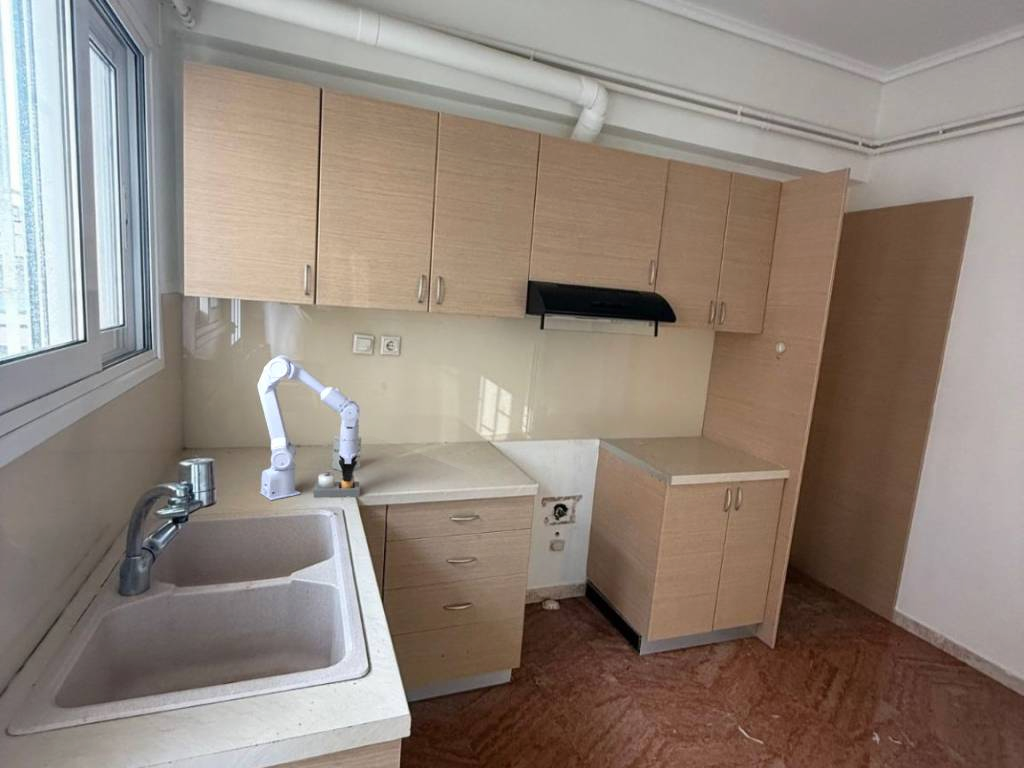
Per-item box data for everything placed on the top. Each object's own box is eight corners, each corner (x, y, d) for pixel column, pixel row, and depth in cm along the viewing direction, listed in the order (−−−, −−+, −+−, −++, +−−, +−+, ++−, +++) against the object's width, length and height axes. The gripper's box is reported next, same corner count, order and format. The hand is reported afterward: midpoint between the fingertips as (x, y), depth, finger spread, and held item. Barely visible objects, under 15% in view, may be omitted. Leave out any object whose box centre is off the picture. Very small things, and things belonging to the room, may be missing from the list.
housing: (313, 497, 165) (314, 476, 164) (315, 489, 172) (316, 468, 172) (359, 496, 169) (360, 476, 168) (359, 488, 177) (360, 468, 176)
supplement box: (331, 468, 195) (332, 436, 193) (346, 464, 201) (347, 433, 200) (345, 473, 191) (347, 439, 190) (360, 468, 198) (362, 436, 196)
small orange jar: (344, 496, 169) (345, 478, 168) (337, 492, 172) (338, 475, 171) (355, 494, 172) (356, 476, 171) (348, 490, 175) (349, 473, 174)
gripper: (362, 444, 164) (359, 485, 165) (361, 433, 177) (359, 471, 179) (338, 444, 161) (336, 486, 163) (339, 433, 175) (338, 471, 177)
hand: (347, 478), depth 171 cm, fingers open, 5 cm apart
